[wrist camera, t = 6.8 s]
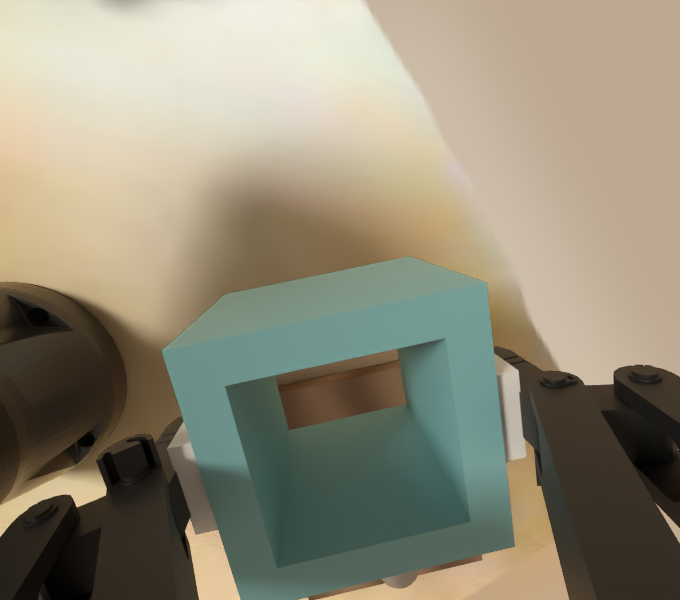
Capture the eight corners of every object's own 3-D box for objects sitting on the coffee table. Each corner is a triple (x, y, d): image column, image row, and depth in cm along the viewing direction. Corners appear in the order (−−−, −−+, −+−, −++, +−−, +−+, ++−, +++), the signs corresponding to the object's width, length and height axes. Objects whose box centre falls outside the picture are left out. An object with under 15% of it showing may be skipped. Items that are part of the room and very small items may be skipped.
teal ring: (269, 458, 17) (244, 612, 11) (225, 294, 16) (161, 351, 9) (434, 421, 18) (514, 546, 11) (409, 256, 16) (486, 282, 9)
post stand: (309, 585, 35) (309, 727, 25) (258, 390, 30) (233, 470, 21) (475, 545, 35) (538, 670, 25) (448, 349, 31) (512, 408, 21)
